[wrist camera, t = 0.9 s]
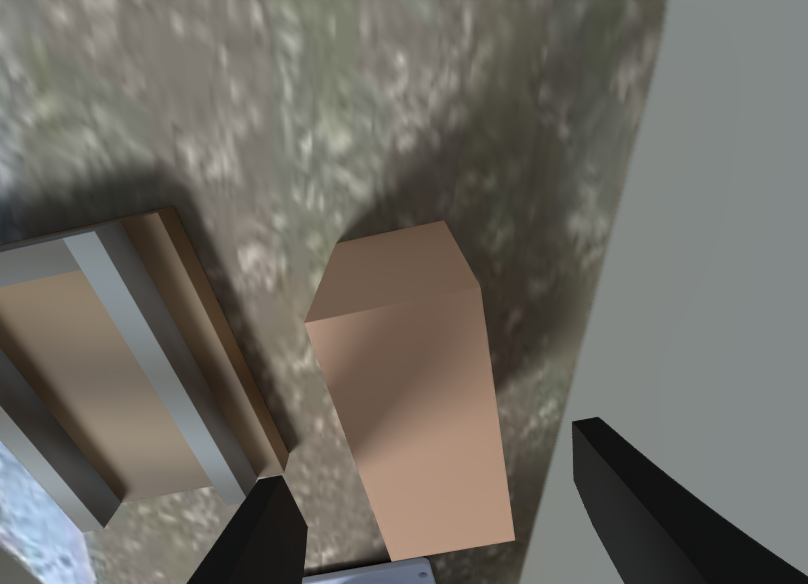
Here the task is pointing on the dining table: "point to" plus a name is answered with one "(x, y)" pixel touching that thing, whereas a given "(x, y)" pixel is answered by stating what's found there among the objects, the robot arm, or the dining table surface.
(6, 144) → the dining table surface
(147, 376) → the walnut cradle
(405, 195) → the dining table surface
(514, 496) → the dining table surface
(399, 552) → the block
